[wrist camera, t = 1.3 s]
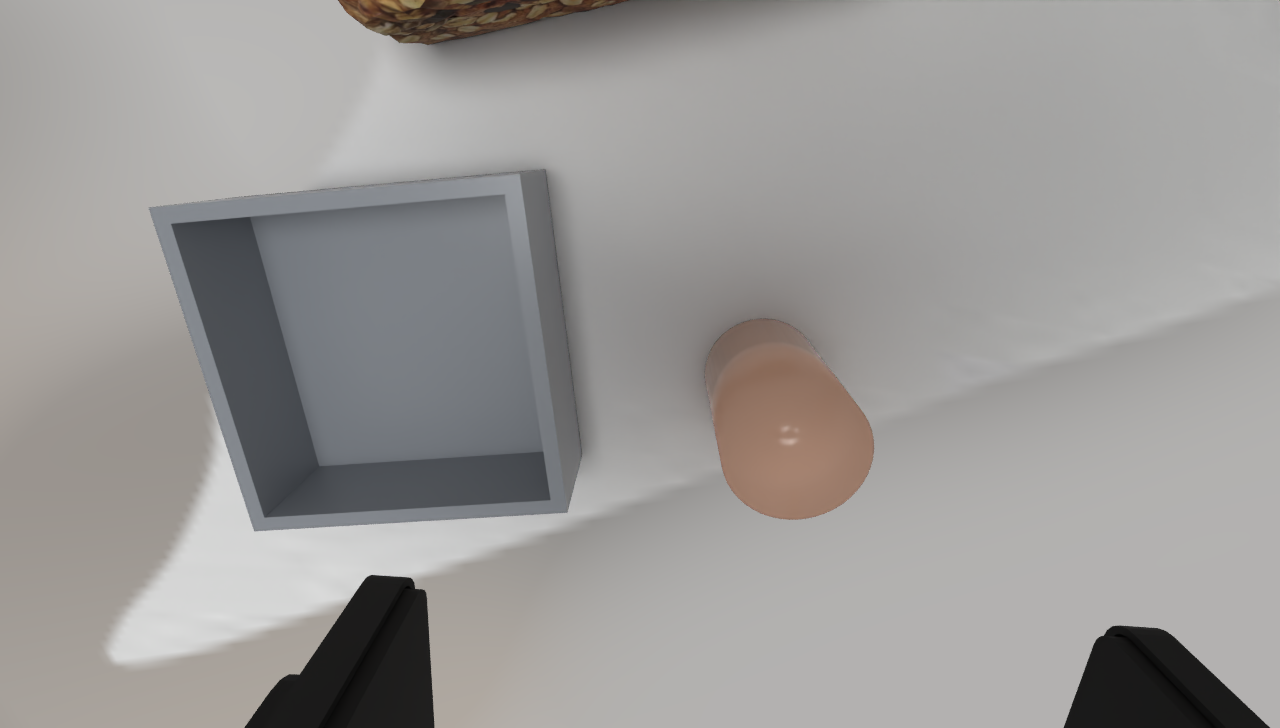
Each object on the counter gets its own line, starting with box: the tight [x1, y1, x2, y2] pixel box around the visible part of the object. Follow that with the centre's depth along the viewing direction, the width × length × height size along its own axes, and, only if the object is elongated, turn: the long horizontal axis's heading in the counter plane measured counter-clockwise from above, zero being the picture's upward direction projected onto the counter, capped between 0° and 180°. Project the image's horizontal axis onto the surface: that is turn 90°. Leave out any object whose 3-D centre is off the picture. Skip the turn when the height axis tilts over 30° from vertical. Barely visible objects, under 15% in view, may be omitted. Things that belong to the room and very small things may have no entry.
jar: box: [705, 319, 874, 520], centre depth 25 cm, size 5×5×8 cm
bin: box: [149, 169, 582, 531], centre depth 26 cm, size 13×13×5 cm
